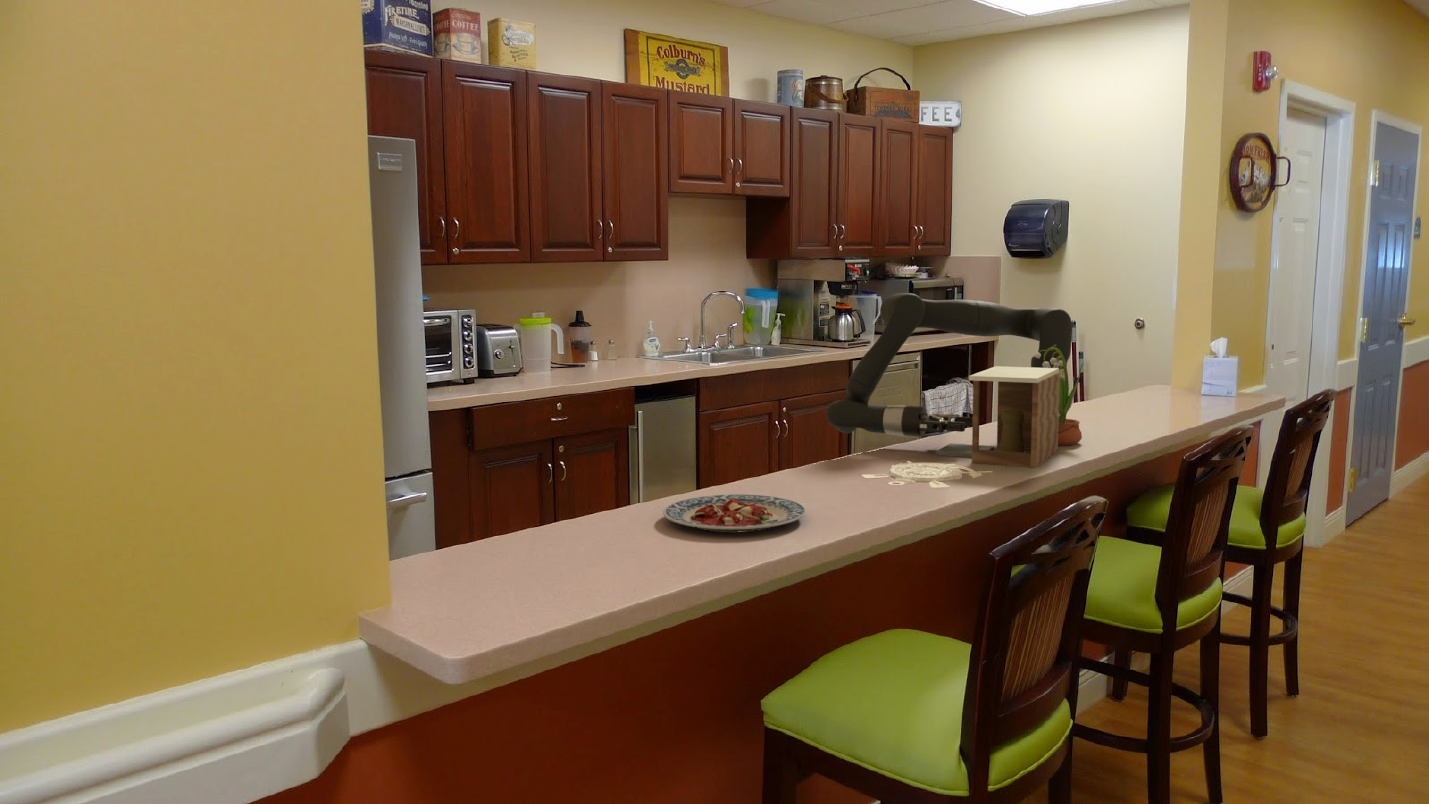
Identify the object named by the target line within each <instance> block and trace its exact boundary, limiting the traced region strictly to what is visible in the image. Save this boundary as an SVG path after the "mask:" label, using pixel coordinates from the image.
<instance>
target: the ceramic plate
mask: <svg viewBox="0 0 1429 804" xmlns="http://www.w3.org/2000/svg"><path fill="white" fill-rule="evenodd" d="M805 514H806V507H805V506H804V505H802V504H800V503H798V502H796V501H793V500H792V499H791V500H790V499H787V498H782V497H776V496H772V495H771V496H769V495H763V494H762V495H760V494H743V493H742V494H741V493H740V494H738V493H737V494H735V493H732V494H731V493H729V494H713V495H705V496H704V495H703V496H696V497H690V498H686V499H683V500H678V501H676V502H673V503H671V504H669V505H667V506H665V508H663V511H662V515H663V516H664V517H665V518H666V519H667V520H669V521H670V522H672V523H676V524H678V525H683V526H685V527H691V528H692V527H693V528H695V527H697V528H696V529H698V528H700V529H699V530H702V529H706V530H705V531H707V530H712V531H711V532H714V531H724V532H723V533H739V532H738V531H751V532H753V531H752V530H758V531H760V530H759V529H764V530H767V529H766V528H768V529H771V528H770V527H772V528H774V527H778V526H782V525H786V524H790V523H793V522H795V521H798V520H799V519H801V518H803V517H804V516H805Z"/></svg>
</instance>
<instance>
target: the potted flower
mask: <svg viewBox="0 0 1429 804" xmlns="http://www.w3.org/2000/svg"><path fill="white" fill-rule="evenodd" d="M1053 346H1056V345H1053ZM1053 346H1052V348H1049V349H1047V350H1041V351H1046V352H1045V354H1044V362H1043V367H1044V368H1048V367H1051V366H1050V364H1049V362H1046V361H1045V356H1046V354H1047V352H1048V351H1049V350H1056V352H1054V353H1053V355H1054V354H1055V353H1057V352H1058V353H1059V355H1060V356H1058V357H1057V358H1058V360H1059V358H1060V361H1058V360H1057V358H1053V355H1052V358H1051V360H1050V362H1051V365H1052V364H1054V367H1053V368H1059V366H1061V367H1060V369H1061V368H1062V367H1064V371H1063V373H1064V375H1065V377H1064V376H1063V373H1062V375H1061V374H1060V385H1059V414H1060V416H1059V423H1058V446H1072V445H1076V444H1078V443H1079V442H1080V441H1081V440H1082V439H1083V436H1082V431H1081V429H1080V423H1081V422H1080V420H1077V419H1071V418H1067V414H1068V413H1069V410H1070V408H1072V404H1073V400H1074V396H1075V393H1076V391H1077V387H1078V385H1079V381H1080V377H1081V371H1082V369H1083V365H1084V362H1082V364H1081V365H1080V368H1079V372H1078V377H1077V379H1076V381H1075V384H1074V386H1073V388H1072V389H1071V391H1070V393H1069V390H1070V389H1069V388H1070V386H1069V385H1070V383H1069V374H1068V373H1069V372H1068V365H1067V366H1066V362H1065V359H1064V357H1063V355H1062V353H1061V351H1060V350H1059V349H1058V348H1055V347H1053ZM1041 351H1040V352H1041ZM1040 356H1041V354H1040V353H1038V352H1036V353H1034V357H1036V358H1039V359H1040ZM1061 359H1062V361H1061ZM1057 362H1058V363H1057ZM1060 369H1059V371H1060Z"/></svg>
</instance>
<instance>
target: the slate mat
mask: <svg viewBox="0 0 1429 804" xmlns="http://www.w3.org/2000/svg"><path fill="white" fill-rule="evenodd" d="M979 449H981V450H995V446H992V445H980V444H979ZM936 455H938V456H948V457H949V456H951V457H962V458H963V457H965V458H972V444H962V443H948V444H947V445H945V446H942V447H941V448H939V449H936Z"/></svg>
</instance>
